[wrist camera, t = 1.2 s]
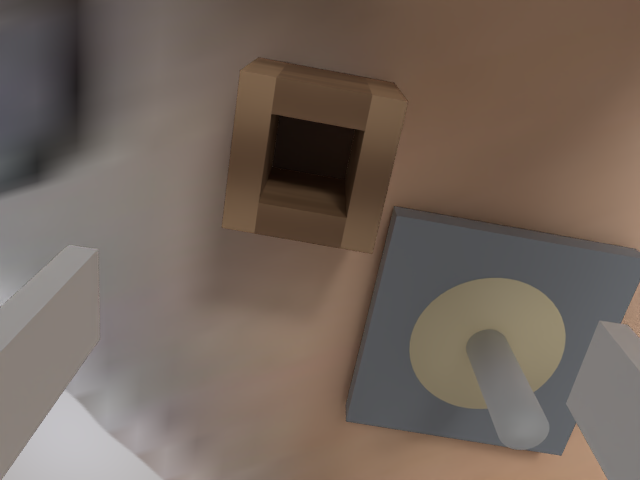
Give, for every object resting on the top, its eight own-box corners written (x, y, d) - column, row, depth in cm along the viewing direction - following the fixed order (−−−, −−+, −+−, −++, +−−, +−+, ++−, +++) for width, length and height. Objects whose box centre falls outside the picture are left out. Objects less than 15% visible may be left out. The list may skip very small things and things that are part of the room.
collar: (258, 57, 28) (240, 70, 23) (394, 82, 29) (408, 101, 23) (241, 187, 31) (221, 227, 26) (365, 209, 32) (372, 253, 26)
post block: (394, 206, 31) (413, 273, 24) (635, 248, 32) (732, 328, 24) (345, 405, 37) (348, 514, 29) (552, 439, 37) (610, 554, 30)
